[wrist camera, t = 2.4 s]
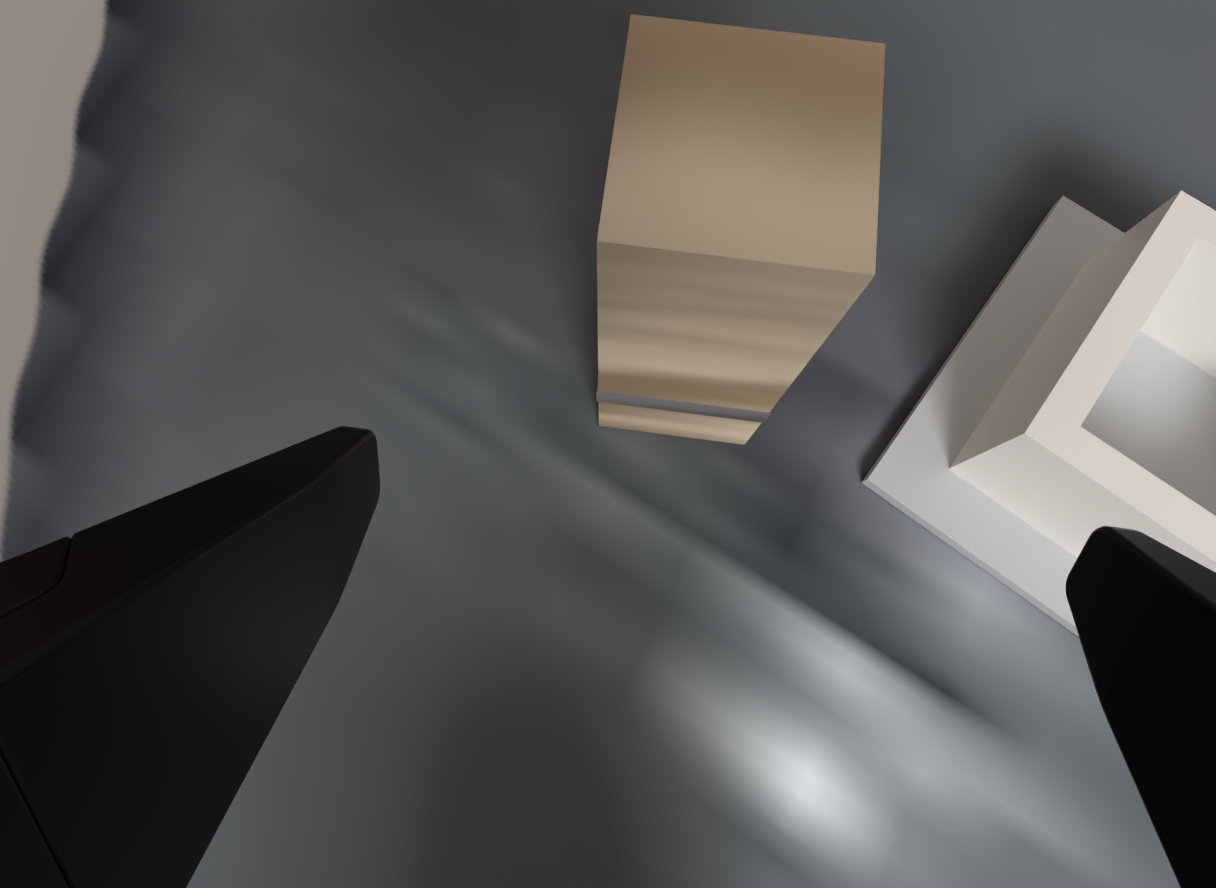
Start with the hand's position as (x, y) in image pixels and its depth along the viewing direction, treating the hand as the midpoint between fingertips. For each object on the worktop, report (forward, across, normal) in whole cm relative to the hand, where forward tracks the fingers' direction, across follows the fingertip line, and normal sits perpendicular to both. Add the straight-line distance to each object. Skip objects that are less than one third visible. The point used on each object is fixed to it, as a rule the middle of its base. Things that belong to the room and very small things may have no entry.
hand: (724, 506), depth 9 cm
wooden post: (+14, 0, +4) cm, 14 cm away
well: (+13, -14, +5) cm, 20 cm away
